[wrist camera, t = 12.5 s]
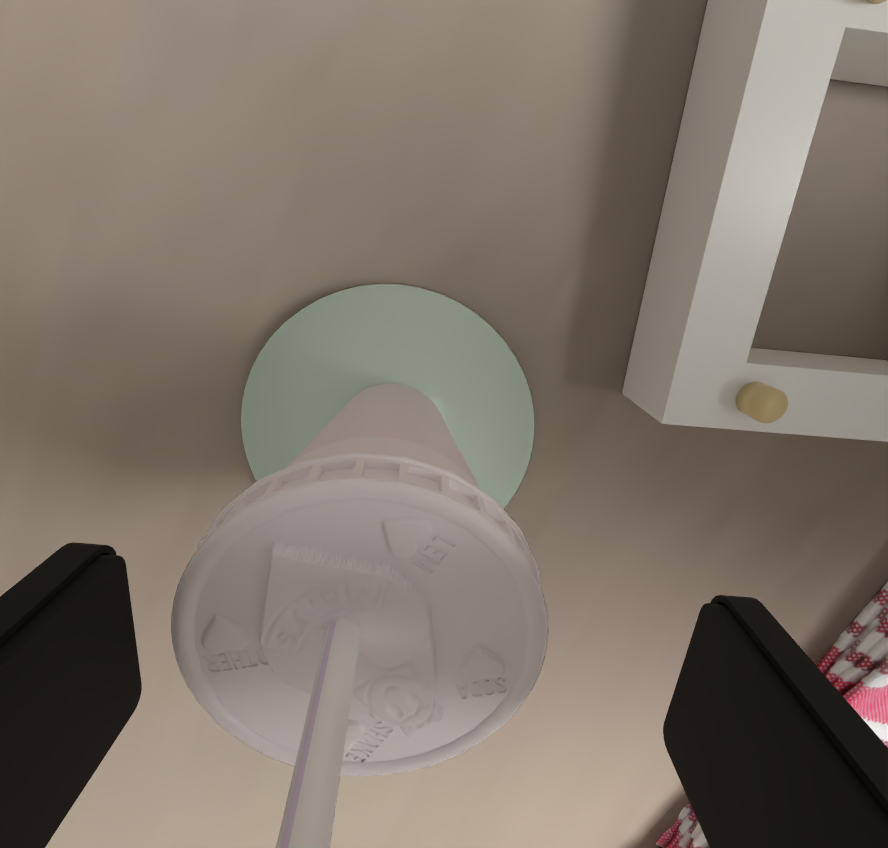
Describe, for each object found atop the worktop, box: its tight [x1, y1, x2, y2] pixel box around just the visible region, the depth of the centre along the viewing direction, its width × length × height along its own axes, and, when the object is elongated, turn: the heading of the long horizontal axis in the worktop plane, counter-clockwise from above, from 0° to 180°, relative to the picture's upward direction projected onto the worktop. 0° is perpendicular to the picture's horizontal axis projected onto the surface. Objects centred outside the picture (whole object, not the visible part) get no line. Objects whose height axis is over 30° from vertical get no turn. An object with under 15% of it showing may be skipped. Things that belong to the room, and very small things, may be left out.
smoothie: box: [171, 383, 548, 848], centre depth 11 cm, size 6×6×14 cm
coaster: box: [241, 284, 535, 509], centre depth 18 cm, size 10×10×1 cm
